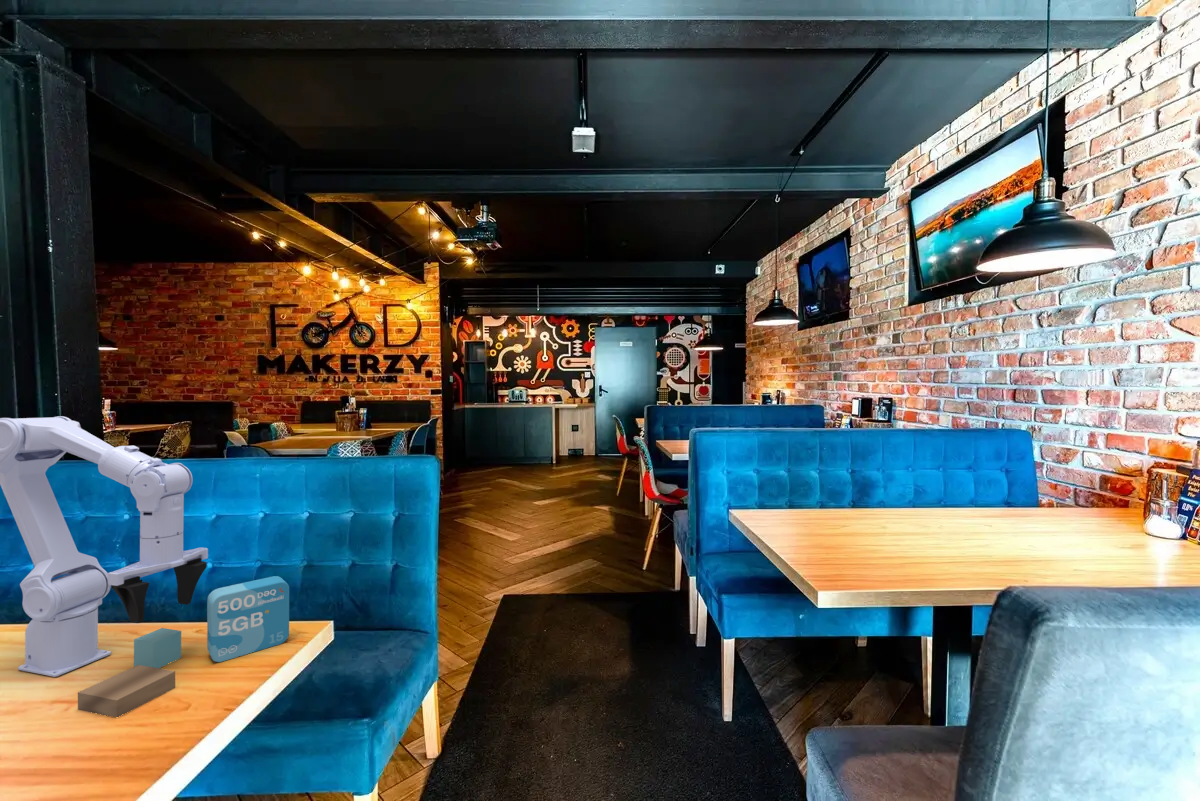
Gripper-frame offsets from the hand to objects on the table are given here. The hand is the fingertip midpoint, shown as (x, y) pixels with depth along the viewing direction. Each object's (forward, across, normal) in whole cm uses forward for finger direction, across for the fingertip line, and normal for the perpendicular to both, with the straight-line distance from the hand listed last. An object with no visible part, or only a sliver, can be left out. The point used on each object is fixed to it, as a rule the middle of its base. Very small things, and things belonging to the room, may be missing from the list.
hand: (161, 612), depth 87 cm
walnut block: (+10, -8, -5) cm, 14 cm away
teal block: (+10, +1, +2) cm, 10 cm away
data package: (+10, +9, -9) cm, 16 cm away
